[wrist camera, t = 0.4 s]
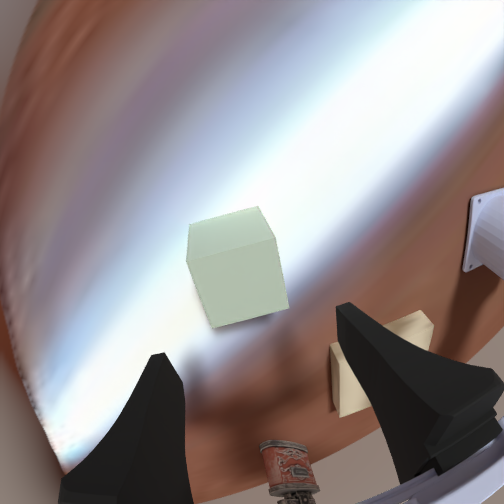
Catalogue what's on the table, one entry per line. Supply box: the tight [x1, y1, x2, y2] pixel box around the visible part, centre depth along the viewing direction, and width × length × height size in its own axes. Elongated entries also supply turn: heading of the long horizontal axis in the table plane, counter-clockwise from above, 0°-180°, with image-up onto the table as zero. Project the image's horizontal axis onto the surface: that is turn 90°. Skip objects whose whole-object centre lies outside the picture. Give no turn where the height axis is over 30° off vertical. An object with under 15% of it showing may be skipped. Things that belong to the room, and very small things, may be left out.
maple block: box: [330, 310, 434, 418], centre depth 28 cm, size 10×10×3 cm
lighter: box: [259, 440, 320, 504], centre depth 30 cm, size 8×3×10 cm, turn 50°
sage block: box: [186, 206, 289, 328], centre depth 18 cm, size 4×4×5 cm
